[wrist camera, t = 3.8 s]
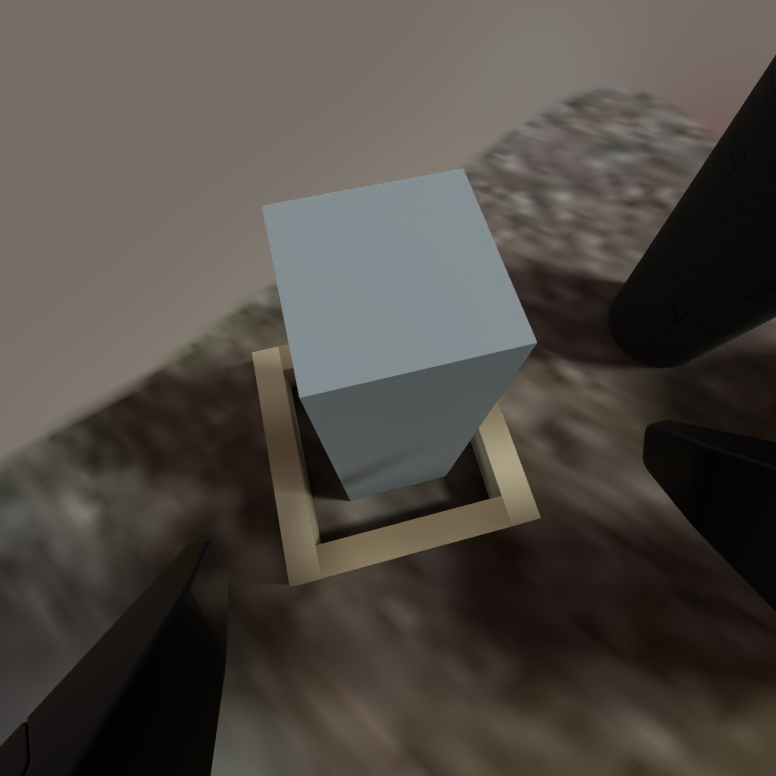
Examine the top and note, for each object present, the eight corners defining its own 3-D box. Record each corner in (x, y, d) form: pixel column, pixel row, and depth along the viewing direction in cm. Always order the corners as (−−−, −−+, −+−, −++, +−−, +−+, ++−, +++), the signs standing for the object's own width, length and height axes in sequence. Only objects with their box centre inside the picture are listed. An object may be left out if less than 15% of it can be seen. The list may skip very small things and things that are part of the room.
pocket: (525, 522, 20) (540, 518, 18) (298, 585, 19) (289, 587, 17) (456, 327, 23) (462, 306, 21) (263, 370, 22) (251, 352, 20)
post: (445, 476, 20) (537, 342, 8) (350, 501, 20) (299, 397, 8) (418, 388, 22) (463, 168, 10) (330, 409, 21) (261, 205, 9)
